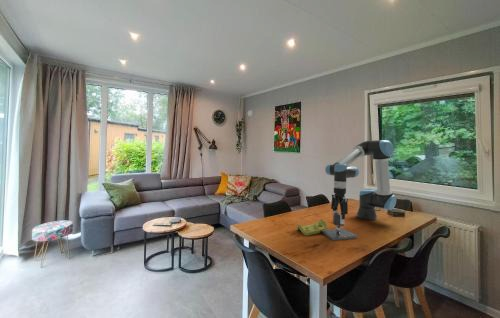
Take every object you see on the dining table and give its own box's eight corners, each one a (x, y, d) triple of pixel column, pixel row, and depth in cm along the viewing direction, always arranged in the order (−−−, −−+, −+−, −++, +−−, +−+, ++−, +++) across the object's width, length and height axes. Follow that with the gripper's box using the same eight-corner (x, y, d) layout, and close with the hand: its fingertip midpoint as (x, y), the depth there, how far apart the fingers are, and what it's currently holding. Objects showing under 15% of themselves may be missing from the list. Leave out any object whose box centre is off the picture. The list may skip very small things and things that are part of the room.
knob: (331, 222, 152) (331, 212, 152) (339, 222, 154) (340, 211, 153) (337, 226, 146) (337, 215, 145) (346, 225, 147) (346, 214, 147)
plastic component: (305, 233, 147) (297, 222, 155) (303, 241, 150) (295, 230, 158) (330, 227, 154) (321, 217, 162) (327, 235, 157) (319, 224, 165)
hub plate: (343, 230, 159) (343, 221, 159) (358, 238, 145) (358, 229, 144) (320, 232, 155) (320, 223, 154) (333, 241, 140) (333, 231, 140)
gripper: (326, 185, 157) (325, 217, 158) (344, 190, 138) (343, 227, 139) (335, 184, 159) (334, 217, 160) (355, 190, 140) (353, 226, 141)
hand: (338, 222), depth 150 cm, fingers closed on knob, 7 cm apart
